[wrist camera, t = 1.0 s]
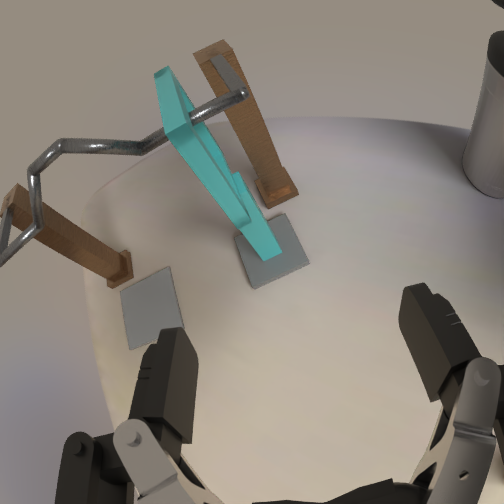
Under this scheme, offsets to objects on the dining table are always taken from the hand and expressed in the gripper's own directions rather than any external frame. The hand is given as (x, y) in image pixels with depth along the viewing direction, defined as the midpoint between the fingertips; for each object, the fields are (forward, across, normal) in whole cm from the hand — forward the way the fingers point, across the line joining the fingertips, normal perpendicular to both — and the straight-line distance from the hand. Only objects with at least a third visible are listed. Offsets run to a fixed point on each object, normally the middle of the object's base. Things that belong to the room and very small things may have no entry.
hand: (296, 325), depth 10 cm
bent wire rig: (+26, +11, +12) cm, 31 cm away
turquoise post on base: (+23, +1, +12) cm, 26 cm away
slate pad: (+21, +18, +17) cm, 33 cm away
